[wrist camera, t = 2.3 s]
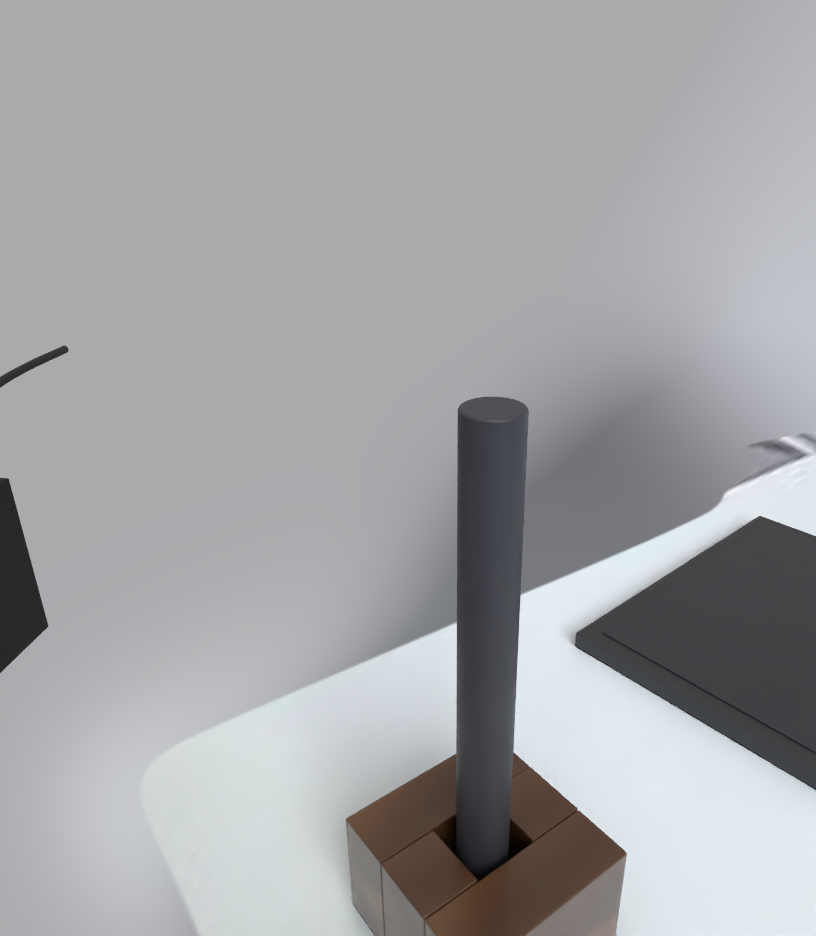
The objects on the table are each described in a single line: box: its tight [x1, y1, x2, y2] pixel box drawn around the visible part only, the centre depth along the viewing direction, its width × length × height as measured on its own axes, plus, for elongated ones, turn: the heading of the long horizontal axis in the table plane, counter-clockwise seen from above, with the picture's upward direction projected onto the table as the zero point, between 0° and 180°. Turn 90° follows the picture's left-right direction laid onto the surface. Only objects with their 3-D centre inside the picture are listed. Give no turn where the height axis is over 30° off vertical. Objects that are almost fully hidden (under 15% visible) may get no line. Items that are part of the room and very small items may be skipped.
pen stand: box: [346, 752, 627, 936], centre depth 27 cm, size 7×7×4 cm
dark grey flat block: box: [575, 516, 816, 789], centre depth 43 cm, size 20×14×1 cm
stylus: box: [456, 397, 529, 882], centre depth 24 cm, size 2×2×20 cm
